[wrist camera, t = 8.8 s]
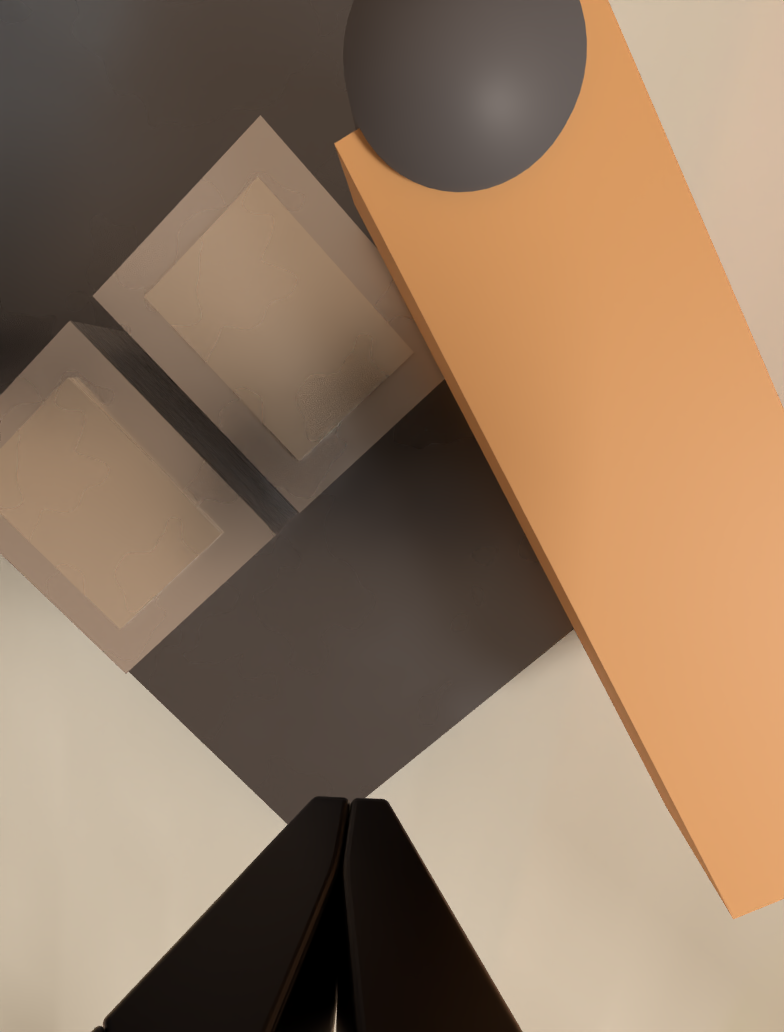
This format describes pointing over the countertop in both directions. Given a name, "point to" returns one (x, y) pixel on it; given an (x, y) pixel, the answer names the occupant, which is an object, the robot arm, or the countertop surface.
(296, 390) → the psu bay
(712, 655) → the swing arm
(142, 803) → the countertop surface
